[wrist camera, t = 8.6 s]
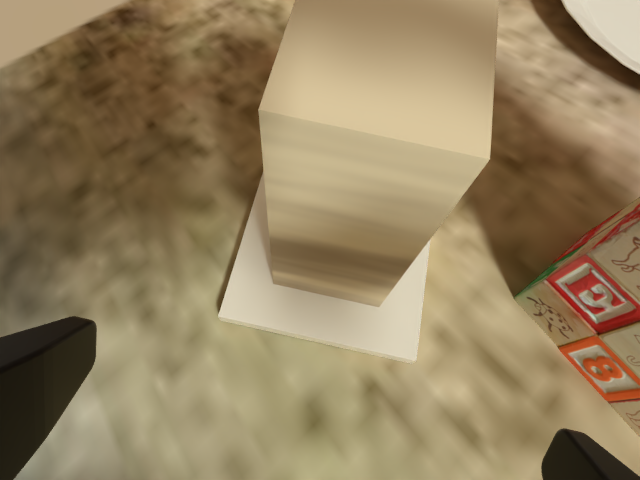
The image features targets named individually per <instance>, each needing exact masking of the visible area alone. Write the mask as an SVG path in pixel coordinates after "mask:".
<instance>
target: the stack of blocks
mask: <svg viewBox="0 0 640 480" xmlns="http://www.w3.org/2000/svg"><path fill="white" fill-rule="evenodd" d="M514 299H515V301H516V302H517V303H518V304H519V305H520V306H521V307H522V308H523V309H524V310H525V311H526V312H527V314H528V315H529V316H530V317H531V318H532V319H533V320H534V321H535V322H536V323H537V324H538V325H539V327H540V328H541V329H542V330H543V331H544V332H545V333H546V334H547V335H548V336H549V337H550V338H551V339H552V341H553V342H554V343H555V344H556V345H557V346H558V348H559V350H560V351H561V352H562V354H563V355H564V356H565V357H566V358H567V359H568V360H569V361H570V362H571V363H572V364H573V365H574V366H575V367H576V369H577V370H578V371H579V372H580V373H581V374H582V375H583V376H584V377H585V378H586V379H587V380H588V381H589V382H590V384H591V385H592V386H593V387H594V388H595V389H596V390H597V391H598V392H599V393H600V394H601V395H602V397H603V398H604V399H605V400H607V401H608V402H609V403H610V405H611V406H612V407H613V408H614V409H615V410H616V412H617V413H618V414H619V415H620V416H621V417H622V418H623V420H624V421H625V422H626V423H627V424H628V425H629V426H630V427H631V428H632V429H633V430H634V431H635V432H636V433H637V434H638V436H639V437H640V197H639V198H638V199H636V200H635V201H634V202H632V203H631V204H629V205H628V206H627V207H626V208H624V209H622V210H620V211H619V212H617V213H616V214H614V215H613V216H611V217H610V218H608V219H607V220H605V221H604V222H602V223H601V224H599V225H598V226H596V227H595V228H593V229H592V230H590V231H589V232H588V233H586V234H585V235H584V236H583V237H582V238H581V239H579V240H578V241H577V242H576V243H575V244H574V245H573V246H571V247H570V248H569V249H568V250H567V251H566V252H565V253H563V254H562V255H561V256H560V257H559V258H558V259H557V260H555V261H554V262H553V264H552V265H551V266H550V267H549V268H548V269H547V270H545V271H544V272H543V273H542V274H541V275H540V276H538V277H537V278H536V279H535V280H534V281H533V282H531V283H530V284H529V285H528V286H527V287H526V288H524V289H523V290H522V291H521V292H520V293H519V294H517V295H516V296H515V297H514Z"/></svg>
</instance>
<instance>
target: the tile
mask: <svg viewBox="0 0 640 480" xmlns="http://www.w3.org/2000/svg"><path fill="white" fill-rule="evenodd" d="M429 247H430V240H429V241H428V243H427V244H426V245H425V247H424V248H423V249H422V251H421V252H420V253H419V255H418V256H417V257H416V259H415V260H414V261H413V263H412V264H411V265H410V267H409V268H408V269H407V271H406V272H405V273H404V275H403V276H402V277H401V279H400V280H399V281H398V283H397V284H396V285H395V287H394V288H393V289H392V291H391V292H390V293H389V295H388V296H387V297H386V299H385V300H384V301H383V303H382V304H381V305H380V307H375V306H371V305H366V304H362V303H357V302H353V301H348V300H344V299H339V298H335V297H330V296H326V295H321V294H317V293H312V292H308V291H303V290H299V289H294V288H290V287H285V286H281V285H276V284H273V275H272V263H271V252H270V240H269V228H268V217H267V205H266V193H265V181H264V171H263V174H262V177H261V180H260V183H259V187H258V190H257V193H256V196H255V199H254V203H253V206H252V209H251V212H250V215H249V219H248V222H247V225H246V228H245V232H244V235H243V238H242V241H241V244H240V248H239V251H238V254H237V257H236V260H235V264H234V267H233V270H232V273H231V276H230V280H229V283H228V286H227V289H226V292H225V296H224V299H223V302H222V305H221V309H220V312H219V315H218V317H219V319H220V320H221V321H225V322H229V323H234V324H238V325H243V326H247V327H252V328H256V329H260V330H265V331H269V332H274V333H278V334H283V335H287V336H291V337H296V338H300V339H305V340H309V341H314V342H318V343H322V344H327V345H331V346H336V347H340V348H345V349H349V350H353V351H358V352H362V353H367V354H371V355H376V356H380V357H384V358H389V359H393V360H398V361H402V362H406V363H411V364H412V363H414V362H416V360H417V351H418V342H419V334H420V325H421V316H422V307H423V299H424V290H425V281H426V273H427V264H428V255H429Z"/></svg>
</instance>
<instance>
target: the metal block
mask: <svg viewBox="0 0 640 480" xmlns="http://www.w3.org/2000/svg"><path fill="white" fill-rule="evenodd" d="M498 8H499V0H295V3H294V6H293V9H292V12H291V15H290V18H289V21H288V23H287V26H286V29H285V32H284V35H283V38H282V41H281V44H280V47H279V50H278V53H277V56H276V59H275V62H274V65H273V68H272V71H271V74H270V77H269V80H268V83H267V86H266V89H265V91H264V94H263V97H262V100H261V103H260V106H259V109H258V111H259V123H260V134H261V146H262V158H263V170H264V181H265V193H266V205H267V217H268V228H269V240H270V252H271V263H272V275H273V284H276V285H281V286H285V287H290V288H294V289H299V290H303V291H308V292H312V293H317V294H321V295H326V296H330V297H335V298H339V299H344V300H348V301H353V302H357V303H362V304H366V305H371V306H375V307H380V305H381V304H382V303H383V301H384V300H385V299H386V297H387V296H388V295H389V293H390V292H391V291H392V289H393V288H394V287H395V285H396V284H397V283H398V281H399V280H400V279H401V277H402V276H403V275H404V273H405V272H406V271H407V269H408V268H409V267H410V265H411V264H412V263H413V261H414V260H415V259H416V257H417V256H418V255H419V253H420V252H421V251H422V249H423V248H424V247H425V245H426V244H427V243H428V241H429V240H430V239H431V237H432V236H433V235H434V233H435V232H436V231H437V229H438V228H439V227H440V225H441V224H442V223H443V221H444V220H445V219H446V217H447V216H448V215H449V213H450V212H451V211H452V209H453V208H454V207H455V205H456V204H457V203H458V201H459V200H460V199H461V197H462V196H463V195H464V193H465V192H466V191H467V189H468V188H469V187H470V185H471V184H472V183H473V181H474V180H475V179H476V177H477V176H478V175H479V173H480V172H481V171H482V169H483V168H484V167H485V165H486V164H487V163H488V161H489V160H490V151H491V133H492V115H493V97H494V79H495V61H496V43H497V26H498Z"/></svg>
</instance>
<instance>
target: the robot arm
mask: <svg viewBox="0 0 640 480" xmlns="http://www.w3.org/2000/svg"><path fill="white" fill-rule="evenodd" d="M96 332H97V328H96V324H95V322H94V321H93V320H89V319H85V318H81V317H76V316H72V317H68V318H65V319H61V320H58V321H55V322H51V323H48V324H44V325H41V326H38V327H34V328H31V329H28V330H24V331H21V332H17V333H14V334H11V335H7V336H4V337H0V480H13V479H14V478H15V477H16V476H17V474H18V473H19V472H20V471H21V469H22V468H23V467H24V466H25V464H26V463H27V462H28V461H29V459H30V458H31V457H32V456H33V454H34V453H35V452H36V451H37V449H38V448H39V447H40V445H41V444H42V443H43V442H44V440H45V439H46V438H47V436H48V435H49V433H50V432H51V430H52V429H53V427H54V426H55V424H56V423H57V421H58V420H59V418H60V417H61V415H62V414H63V412H64V411H65V409H66V407H67V406H68V404H69V403H70V401H71V400H72V398H73V397H74V395H75V394H76V392H77V391H78V389H79V388H80V386H81V384H82V383H83V381H84V380H85V378H86V377H87V375H88V374H89V372H90V371H91V369H92V367H93V365H94V362H95V358H96ZM541 469H542V477H543V480H640V477H639V476H638V475H637V474H635V473H634V472H633V471H632V470H630V469H629V468H628V467H627V466H625V465H624V464H623V463H622V462H620V461H619V460H618V459H617V458H615V457H614V456H613V455H612V454H610V453H609V452H608V451H606V450H605V449H604V448H603V447H601V446H600V445H599V444H598V443H596V442H595V441H594V440H593V439H591V438H590V437H589V436H588V435H586V434H584V433H582V432H578V431H574V430H569V429H564V428H563V429H560V430H559V431H557V433H556V434H555V436H554V438H553V440H552V442H551V444H550V446H549V448H548V450H547V452H546V454H545V456H544V458H543V461H542V467H541Z"/></svg>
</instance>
